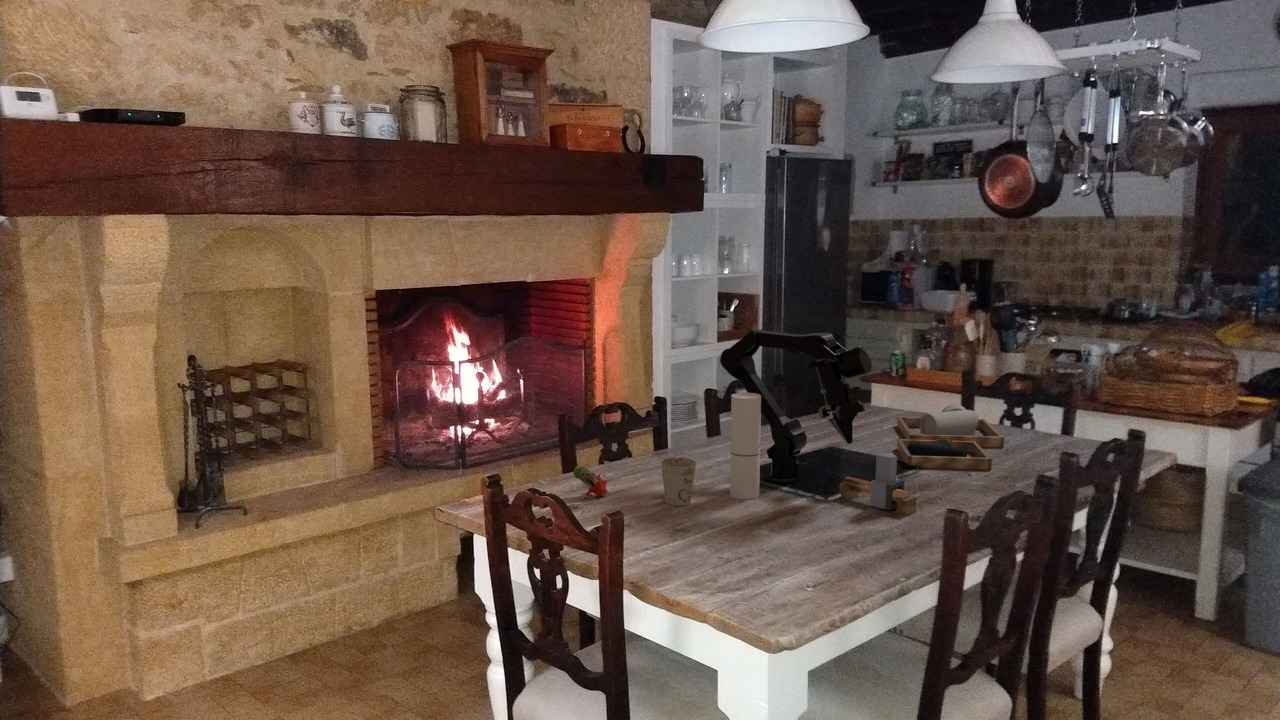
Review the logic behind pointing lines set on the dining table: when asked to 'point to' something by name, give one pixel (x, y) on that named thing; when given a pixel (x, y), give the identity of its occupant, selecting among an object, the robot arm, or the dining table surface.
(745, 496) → the cylindrical container
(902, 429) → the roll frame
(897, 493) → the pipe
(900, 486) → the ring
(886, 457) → the sleeve
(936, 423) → the elbow connector
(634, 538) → the dining table surface
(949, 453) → the pipe connector
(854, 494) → the cradle
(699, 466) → the dining table surface
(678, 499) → the beige paper cup
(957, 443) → the wooden tray
